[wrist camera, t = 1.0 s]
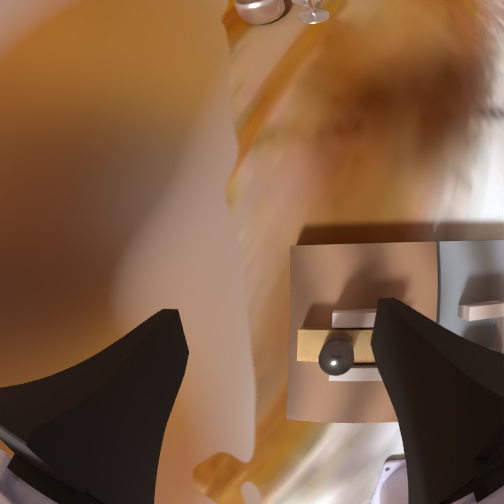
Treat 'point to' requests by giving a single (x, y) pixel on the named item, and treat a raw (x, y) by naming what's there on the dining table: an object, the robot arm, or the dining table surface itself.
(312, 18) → the goblet set
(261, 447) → the dining table surface
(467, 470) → the robot arm
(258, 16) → the plastic bottle
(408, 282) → the two-tone tabbed panel
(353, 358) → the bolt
